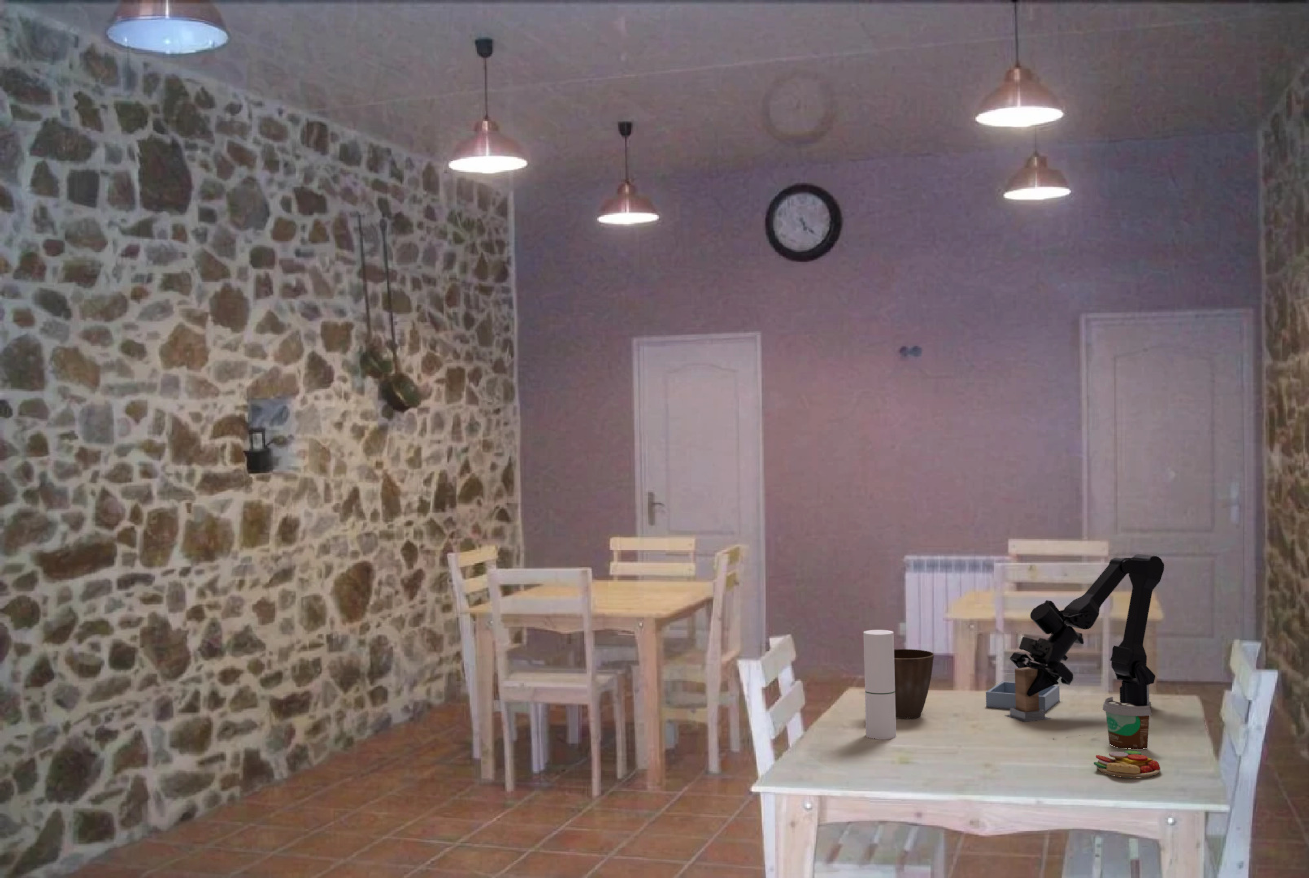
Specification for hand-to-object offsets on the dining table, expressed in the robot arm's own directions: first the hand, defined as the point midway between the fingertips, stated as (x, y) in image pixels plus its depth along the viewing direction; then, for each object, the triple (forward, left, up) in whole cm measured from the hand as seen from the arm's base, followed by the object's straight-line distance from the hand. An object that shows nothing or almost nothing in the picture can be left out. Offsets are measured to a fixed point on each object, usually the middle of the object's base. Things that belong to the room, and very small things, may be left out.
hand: (1022, 693), depth 324 cm
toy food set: (-32, +38, -7) cm, 50 cm away
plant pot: (+28, +7, -7) cm, 30 cm away
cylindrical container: (+26, +30, -7) cm, 40 cm away
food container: (-27, +17, -7) cm, 32 cm away
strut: (-1, -1, -6) cm, 6 cm away
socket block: (-1, -1, -7) cm, 7 cm away
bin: (+4, -16, -7) cm, 18 cm away
